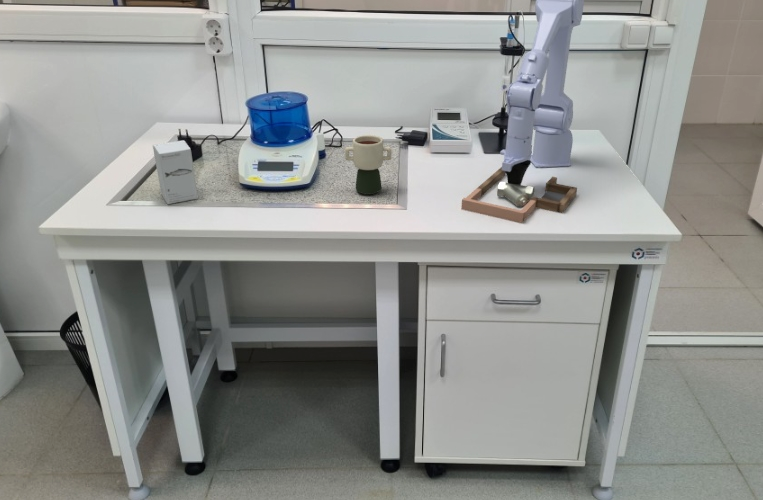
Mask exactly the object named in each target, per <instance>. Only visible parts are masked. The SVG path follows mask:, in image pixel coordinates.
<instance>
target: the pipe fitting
mask: <svg viewBox="0 0 763 500" xmlns="http://www.w3.org/2000/svg"><path fill="white" fill-rule="evenodd" d="M496 194H497V195H496V196H497V197H502V198H506V199H507V200H508V201H510V202H511V203H512V204H514V205H515V206H516V207H517V208H522V207H525V205H526V204H527V203H528V202H529V201H530V200H531V199H532V198H533V197H535V196H534V195H535V186H531V185H522V184H521V185H516V184H509V183H508V182H506V181H505V182H504V181H498V185H497V191H496Z"/></svg>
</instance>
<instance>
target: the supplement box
mask: <svg viewBox="0 0 763 500" xmlns="http://www.w3.org/2000/svg"><path fill="white" fill-rule="evenodd" d="M152 149H153V155H154V161H155V166H156V172H157V176H158V177H157V178H158V183H159V187H160V188H159V189H160V193H161V195H162V197H163V199H164V201H165V203H166V205H171V204H175V203H180V202H181V203H182V202H186V201H191V200H197V199H199V196H198V189H197V183H196V182H197V181H196V175H195V170H194V163H193V162H194V161H193V156H192V150H191V147H190V146H189V145H188V143H187V142H186V141H185V140H176V141H170V142H169V141H168V142H162V143H157V144H152Z"/></svg>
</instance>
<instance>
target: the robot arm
mask: <svg viewBox="0 0 763 500" xmlns="http://www.w3.org/2000/svg"><path fill="white" fill-rule="evenodd" d="M584 4H585V0H535V4H534V9H535V10H534V13H535V16H536V17H535V18H536V21H537V22H538V23H537V28H536V31H535V36H534V39H533V43H532V47H531V50H530V51H528V52H526V53H525V54H524V56H523V58H522V61H521V64H520V67H519V69H518V70H519V71H518V73H517V75H516V78H515V81H514V82H512V83H510V85H509V86H508V89H507V92H506V97H505V99H506V107H507V108H506V113H507V115H508V120H507V131H506V132H507V133H506V143H505V149H502V150H500V152H499V154H500V155H501V156H503V161H502V162H501V167H502V170H503V171H505V172H506V175H505V176H506V179H507V183H509V184H516V185H522V182H523V179H524V177H525V174H526V172H527V170H528V169H529V167H530V165H531V164H532V165H533V166H534V167H535V168H549V167H550V168H553V167H570V166H571V163H570V161H571V157H572V156H571V155H572V149H573V141H574V140H573V139H574V138H573V133H572V131H571V130H570V128H571V126H572V122H573V119H574V102H573V100H572V99H571V98H570V97H569V96H568V95H567V94H566V93H565V92H564V91H565V84H566V76H567V69H568V62H569V61H568V60H569V55H570V47H571V46H570V45H571V39H572V38H571V37H572V33H573V29H574V27H577V26H580V25H581V21H582V18H583V11H584ZM547 55H548V56H547ZM544 79H545V84H544V88H543V82H544ZM543 89H544V92H543ZM534 132H535V133H534ZM533 133H534V135H533ZM533 136H534V141H533ZM532 141H533V142H532ZM532 143H533V144H532Z"/></svg>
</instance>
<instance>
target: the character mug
mask: <svg viewBox="0 0 763 500" xmlns="http://www.w3.org/2000/svg"><path fill="white" fill-rule="evenodd" d="M350 152H352V156H350ZM384 152H386V155H385V156H384ZM344 159H345V161H347V162H348V161H353V165H354V167H355V168H357V171H356V179H355V190H356V191H357V192H358V193H360V194H364V195H373V194H376V193H379V192H380V191H381V190H382V188H383V187H382V180H381V174H380V173H381V172H380V170H379V169H380V168H381V167H382V166H383V163H384V161H390V160H392V148H391V147H390V146H384V139H383V138H382V137H380V136H377V135H371V134H366V135H365V134H364V135H359V136H356V137H354V138H353V139H352V146H346V147H344Z"/></svg>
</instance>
